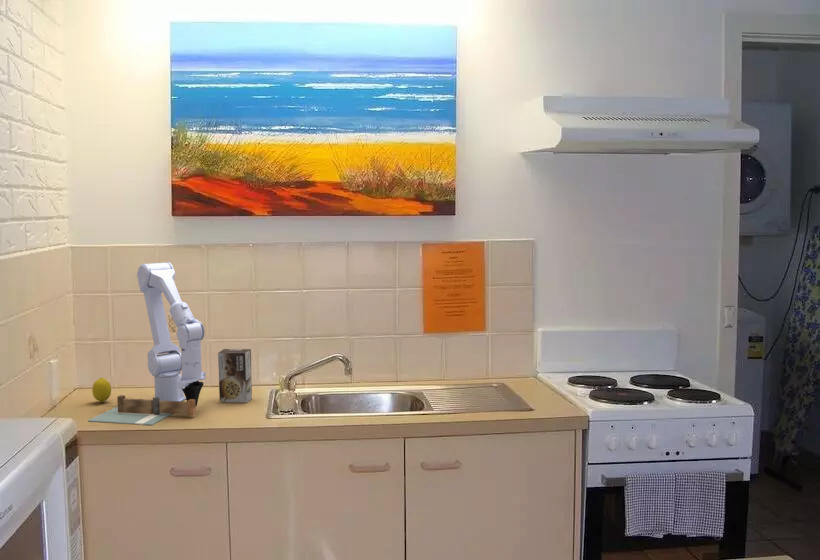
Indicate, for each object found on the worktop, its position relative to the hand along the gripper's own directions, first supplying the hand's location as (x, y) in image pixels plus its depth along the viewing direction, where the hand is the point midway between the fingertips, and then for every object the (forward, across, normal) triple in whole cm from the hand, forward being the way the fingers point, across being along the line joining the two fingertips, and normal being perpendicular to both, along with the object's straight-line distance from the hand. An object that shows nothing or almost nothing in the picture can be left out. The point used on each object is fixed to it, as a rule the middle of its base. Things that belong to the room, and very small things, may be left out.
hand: (192, 406), depth 243 cm
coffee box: (+2, +15, -8) cm, 17 cm away
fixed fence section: (+1, -6, +14) cm, 15 cm away
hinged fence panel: (+1, -6, +2) cm, 6 cm away
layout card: (+1, -6, +14) cm, 16 cm away
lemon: (+2, +4, +32) cm, 33 cm away
